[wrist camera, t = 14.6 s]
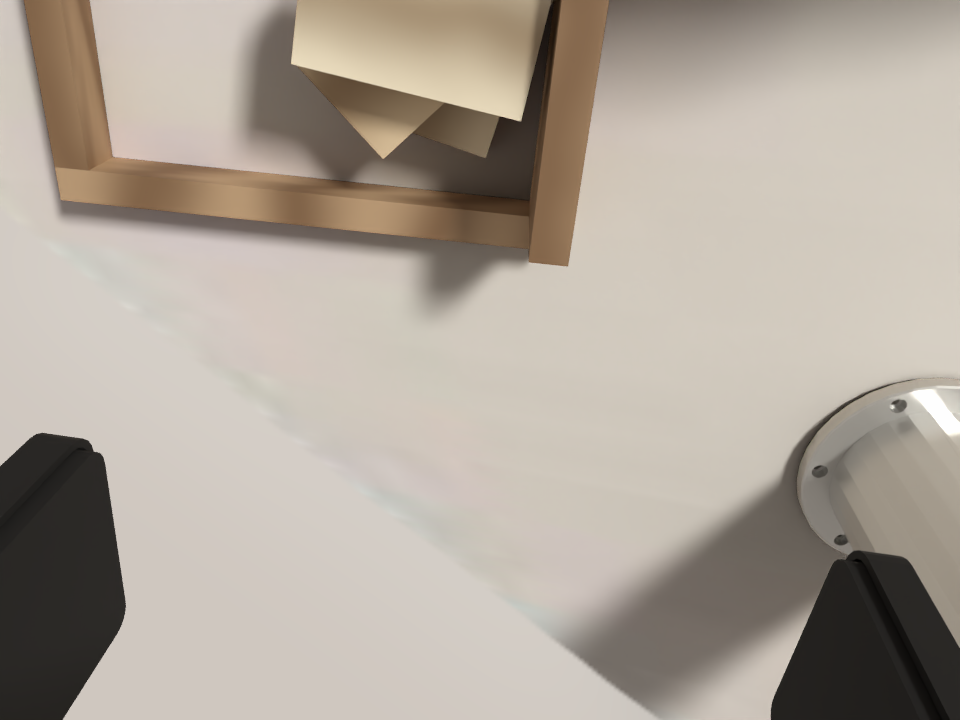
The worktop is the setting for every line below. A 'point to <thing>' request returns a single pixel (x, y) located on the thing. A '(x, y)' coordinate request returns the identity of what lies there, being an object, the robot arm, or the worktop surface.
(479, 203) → the frame
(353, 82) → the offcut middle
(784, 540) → the worktop surface
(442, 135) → the offcut bottom
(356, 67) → the offcut top
